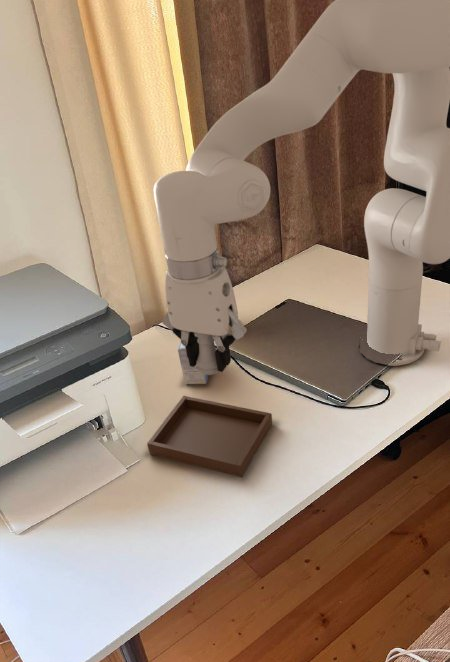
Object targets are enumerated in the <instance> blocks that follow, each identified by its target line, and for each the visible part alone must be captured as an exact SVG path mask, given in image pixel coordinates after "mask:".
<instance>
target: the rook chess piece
mask: <svg viewBox="0 0 450 662" xmlns="http://www.w3.org/2000/svg"><path fill="white" fill-rule="evenodd" d="M194 334H195V335H196V336H197V337H198V339H197V342H198V343H199V355H198V358H197V361H196V364H197V370H198V371H199V372H201V373H202V374H205V375H209V376H213V375H216V374H218V373H220V372H219V371H218V369H217V363H216V356H215V351H216V350H217V347H216V343H215V341H214V338H213V336H212V335H209V334H202V333H196V332H194Z"/></svg>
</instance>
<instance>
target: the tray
mask: <svg viewBox="0 0 450 662" xmlns="http://www.w3.org/2000/svg"><path fill="white" fill-rule="evenodd" d="M272 415H273V414H272V413H271V412H267V411H261V410H257V409H252V408H246V407H242V406H236V405H232V404H227V403H222V402H217V401H212V400H207V399H202V398H196V397H191V396H188V395H183V396H182V397H181V398H180V400H179V401H178V402H177V403H176V405H175V406H174V407H173V409H172V410H171V411H170V413H169V414H168V415H167V416H166V418H165V419H164V420H163V422H162V423H161V424H160V426H159V427H158V428H157V430H156V431H155V433H153V435H152V436H151V438H150V439H149V440H148V441H147V443H146V444H147V449H148V452H149V455H151V456H155V457H159V458H164V459H168V460H171V461H175V462H179V463H184V464H188V465H192V466H196V467H199V468H203V469H206V470H207V469H208V470H212V471H215V472H220V473H223V474H227V475H232V476H236V477H238V478H239V477H240V478H243V476H244V475H245V474H246V471H247V470H248V469H249V466H250V464H251V463H252V461H253V459H254V457H255V456H256V454H257V452H258V451H259V448H260V447H261V446H262V443H263V442H264V440H265V438H266V437H267V435H268V433H269V431H270V430H271V428H272V426H273V425H274V424H273V416H272Z"/></svg>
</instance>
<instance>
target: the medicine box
mask: <svg viewBox="0 0 450 662" xmlns="http://www.w3.org/2000/svg"><path fill="white" fill-rule="evenodd" d="M195 336H196V335H195ZM177 354H178V358H179V363H180V368H181V372H182V373H181V374H182V377H183V382H184V384H185V385H206V384H207V382H208V379H209V377H210V375H205V374H202V373H201V372H199V371H198V370H197V364H196V365H195V366H194V367H191V366H190V364H189V359H188V358H187V353H186V348H185V346H184V345H182V344H181V342H180V343H179V346H178V348H177Z"/></svg>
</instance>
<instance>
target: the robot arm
mask: <svg viewBox="0 0 450 662" xmlns="http://www.w3.org/2000/svg"><path fill="white" fill-rule="evenodd" d="M362 70H364V71H368V72H373V73H374V72H375V73H380V74H392V77H393V84H394V92H393V93H394V94H393V100H392V109H391V115H390V119H389V123H388V124H389V125H388V131H387V136H386V141H385V147H384V154H383V167H384V171H385V173H386V174H387V176H389V177H390V178H391V179H393V180H395V181H397V182H399V183H401V184H405V185H407V186H410V187H413V188H416V189H418V190H421V191H424V192H425V193H426V194H425V196H424V195H423V194H422V195H421V194H418V193H415V192H413V191H409V190H407V189H403V188H397V187H396V188H394V187H393V188H392V187H391V188H386V189H383V190H380V191H378V192H377V193H375V195H374V196H372V198H371V199H370V201H369V202H368V203H367V206H366V208H365V211H364V217H363V229H364V236H365V241H366V245H367V246H366V247H367V255H368V282H367V284H368V285H367V286H368V287H367V320H366V322H367V323H366V324H367V325H366V332H367V343H368V345H369V347H371V348H372V349H374V350H376V351H378V352H380V353H385V354H394V355H395V354H399V353H400V354H401V353H402V354H403V355H402V356H401V357H400V358H399V359H398V360H396V362H394V363H390V365H388V366H387V367H398V366H399V367H400V366H404V365H408V364H411V363H414V362H416V361H417V360H419V359H420V358H421V357H422V356H423V354H424V352H425V350H429V351H435V352H439V351H440V349H441V340H437V334H433V333H425V332H424V331H422V327H423V325H422V324H421V323H420V324H419V320H420V310H421V309H420V308H421V297H422V286H423V284H422V283H423V275H424V264H423V263H425V264H429V265H439V264H443V263H445V262H447V261H448V260H449V259H450V127H448V126H447V120H448V119H447V118H448V113H449V108H450V0H334V1H332V2H331V3H330V4H329V5H328V6H327V7H326V8H325V10H324V11H323V12H322V14H321V15H320V16H319V17H318V19H316V21H315V23H313V25H312V27H311V28H310V29H309V30H308V32H307V34H306V35H305V36H304V37H303V38H302V40H301V41H300V42H299V44H298V45H297V46H296V48H295V49H294V50H293V51H292V53H291V54H290V56H289V57H288V59H286V61H285V62H284V64H283V65H282V66H281V68H280V69H279V70H278V71H277V72H276V74H275V75H274V77H273V78H271V80H270V81H268V83H266V84H265V85H263V86H262V87H260V88H258V89H257V90H255V91H254V92H252V93H251V94H250V95H248V96H247V97H246V98H244V99H243V100H241V101H240V102H238V103H236V104H235V105H234V106H232V107H231V108H230V109H228V110H227V111H226V112H225V113H224V114H223V115H222V116H220V117H219V119H218V120H217V121H216V122H215V123H214V124H213V125H212V126H211V128H210V129H209V130H208V132H207V133H206V135H205V136H204V137H203V138H202V140H201V141H200V142H199V144H198V145H197V146H196V147H195V149H194V151H193V153H192V154H191V156H190V158H189V160H188V162H187V165H186V168H185V170H178V171H173V172H170V173H167V174H164V175H163V176H160V177H159V178H158V179H157V180H156V182H155V184H154V185H153V198H154V204H155V208H156V209H155V210H156V212H157V214H156V215H157V219H158V224H159V229H160V235H161V241H162V244H163V250H164V254H165V256H164V257H165V261H166V266H167V269H166V271H165V278H164V291H165V292H164V293H165V302H166V310H167V312H166V314H165V315H164V318H163V319H162V321H161V322H162V324H163V325H164V326H165V327H166V328H167V329H169V330H171V331H172V333H173V334H174V335H175V336H176V337H177V338H178V339H179V340H180V343H181V344H182V345H184V346H185V348H186V353H187V358H188V359H189V364H190V366H191V367H194V366H195V365H196V361H197V358H198V355H199V343H198V342H197V339H198V337H197V336H195V334H194V332H196V333H202V334H209V335H212V336H213V338H214V344H215V347H216V351H215V356H216V363H217V369H218V371H219V372H218V373H223V372H224V371H225V369H226V368H227V366H229V365H230V363H231V361H232V356H231V349H230V346H231V345H233V344H234V342H236V341H238V340H240V339H243V338H244V337H245V335H246V334H247V333H248V329H247V327H245V325H244V324H243V323H242V322H241V320H240V319H239V312H238V306H237V305H238V304H237V301H236V296H235V292H234V288H233V287H234V286H233V284H232V281H231V278H230V275H229V272H228V270H227V268H226V267H227V265H228V259H227V257H225V256H222V255H220V250H219V248H218V241H217V233H216V225H219V224H226V223H232V222H233V223H234V222H240V221H243V220H247V219H250V218H253V217H254V216H256V215H258V214H259V213H261V212H262V211H263V209H264V208H265V207H266V206H267V204H268V203H269V200H270V197H271V184H270V180H269V178H268V176H267V175H266V173H265V172H264V171H263V170H261V168H259V167H258V166H256V165H255V164H253V163H250V162H248V161H246V160H245V159H246V158H247V157H248V156H249V155H251V153H253V152H254V151H255V150H256V149H257V148H258V147H260V146H262V145H263V144H265V143H267V142H268V141H271V140H273V139H276V138H278V137H282V136H285V135H289V134H290V135H291V134H293V133H298V132H301V131H304V130H306V129H310V128H312V127H314V126H316V125H317V124H319V123H320V121H322V119H323V118H324V116H325V115H326V114H327V113H328V112H329V110H330V109H331V107H332V106H333V105H334V103H335V102H336V100H337V99H338V98H339V96H340V95H341V94H342V93H343V91H345V89H346V88H347V86H348V85H349V83H350V82H351V81H352V80H353V79H354V78H355V76H356V75H357V74H358V73H359V72H360V71H362ZM229 327H230V328H231V330H232V331H231V332H229V331H230V330H229ZM362 340H363V339H362Z"/></svg>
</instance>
